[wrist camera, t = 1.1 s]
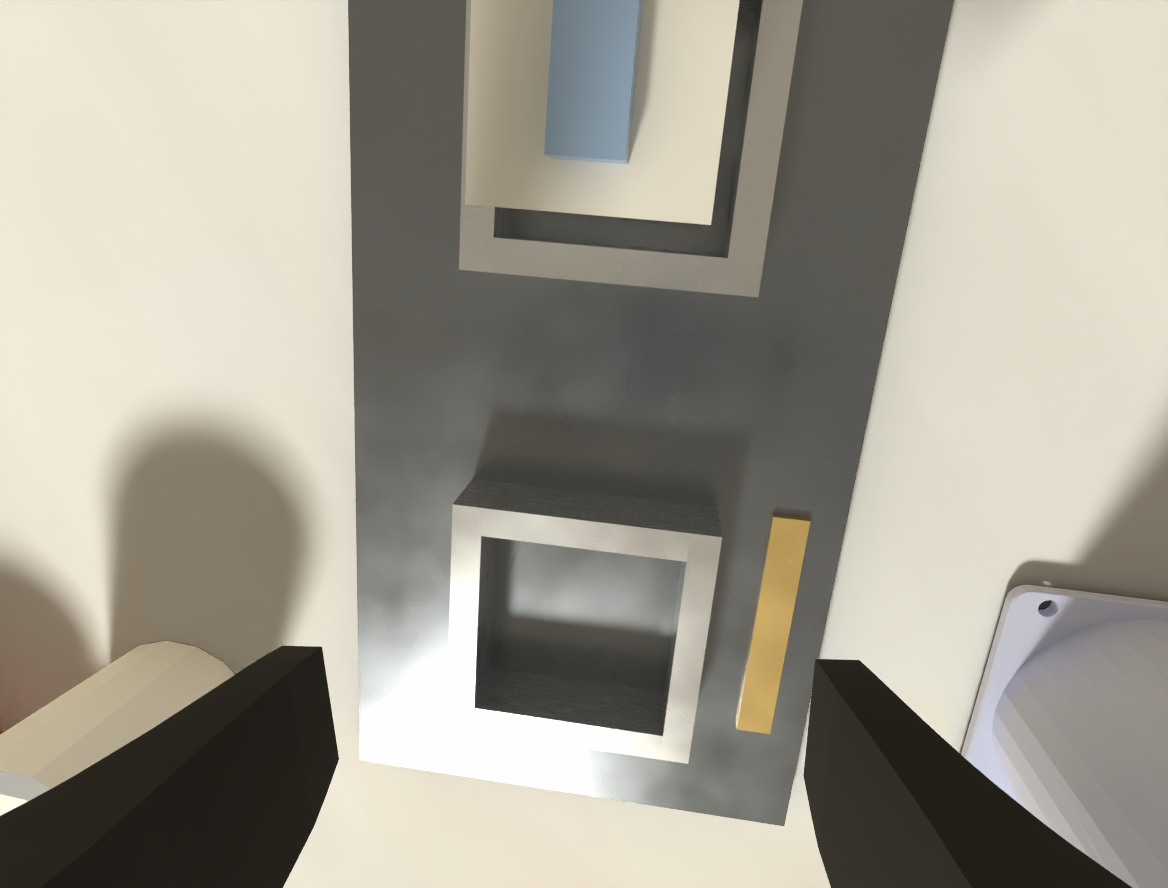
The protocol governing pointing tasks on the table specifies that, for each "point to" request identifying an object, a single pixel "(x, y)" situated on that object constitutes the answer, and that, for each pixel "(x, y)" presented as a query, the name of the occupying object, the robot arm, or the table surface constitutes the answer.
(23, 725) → the white cylinder
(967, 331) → the table surface
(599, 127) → the plug
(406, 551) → the panel
